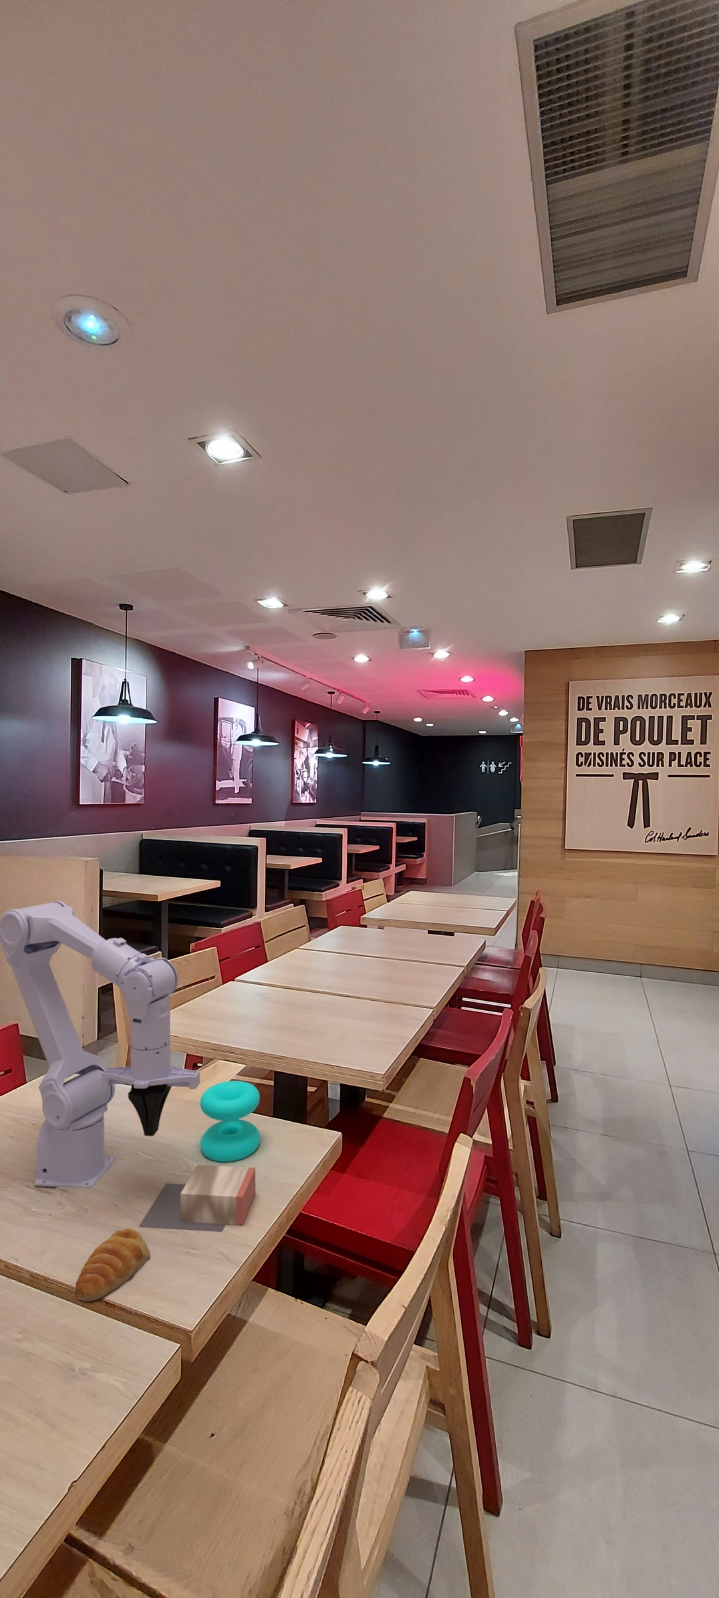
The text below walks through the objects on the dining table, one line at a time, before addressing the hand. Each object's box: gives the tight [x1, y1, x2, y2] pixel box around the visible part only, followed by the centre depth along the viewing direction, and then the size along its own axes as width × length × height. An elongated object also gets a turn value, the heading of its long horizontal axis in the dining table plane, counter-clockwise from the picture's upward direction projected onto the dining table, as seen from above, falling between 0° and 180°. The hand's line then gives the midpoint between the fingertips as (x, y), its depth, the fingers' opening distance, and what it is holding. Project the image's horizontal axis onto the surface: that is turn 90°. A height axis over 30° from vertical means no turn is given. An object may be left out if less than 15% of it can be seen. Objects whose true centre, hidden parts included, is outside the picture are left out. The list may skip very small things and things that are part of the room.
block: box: [180, 1164, 256, 1226], centre depth 95 cm, size 4×7×9 cm
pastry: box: [75, 1228, 151, 1302], centre depth 82 cm, size 9×7×4 cm
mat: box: [138, 1182, 226, 1233], centre depth 95 cm, size 12×10×1 cm
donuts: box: [199, 1080, 261, 1163], centre depth 111 cm, size 10×10×10 cm
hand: (151, 1132), depth 97 cm, fingers closed
